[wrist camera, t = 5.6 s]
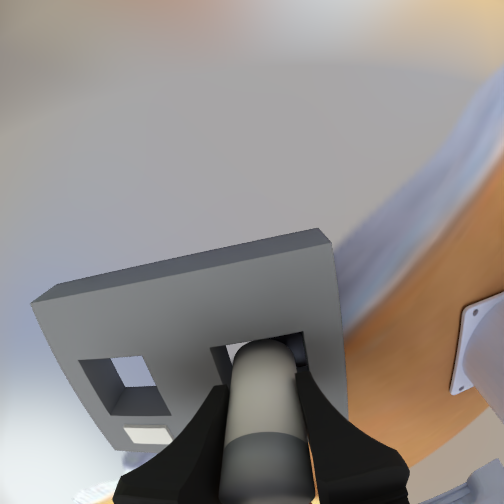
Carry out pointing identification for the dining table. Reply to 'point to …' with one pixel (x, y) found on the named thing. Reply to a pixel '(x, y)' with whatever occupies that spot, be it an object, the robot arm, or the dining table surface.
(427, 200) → the dining table surface
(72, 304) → the socket panel
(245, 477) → the plug
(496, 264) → the dining table surface
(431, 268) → the dining table surface
